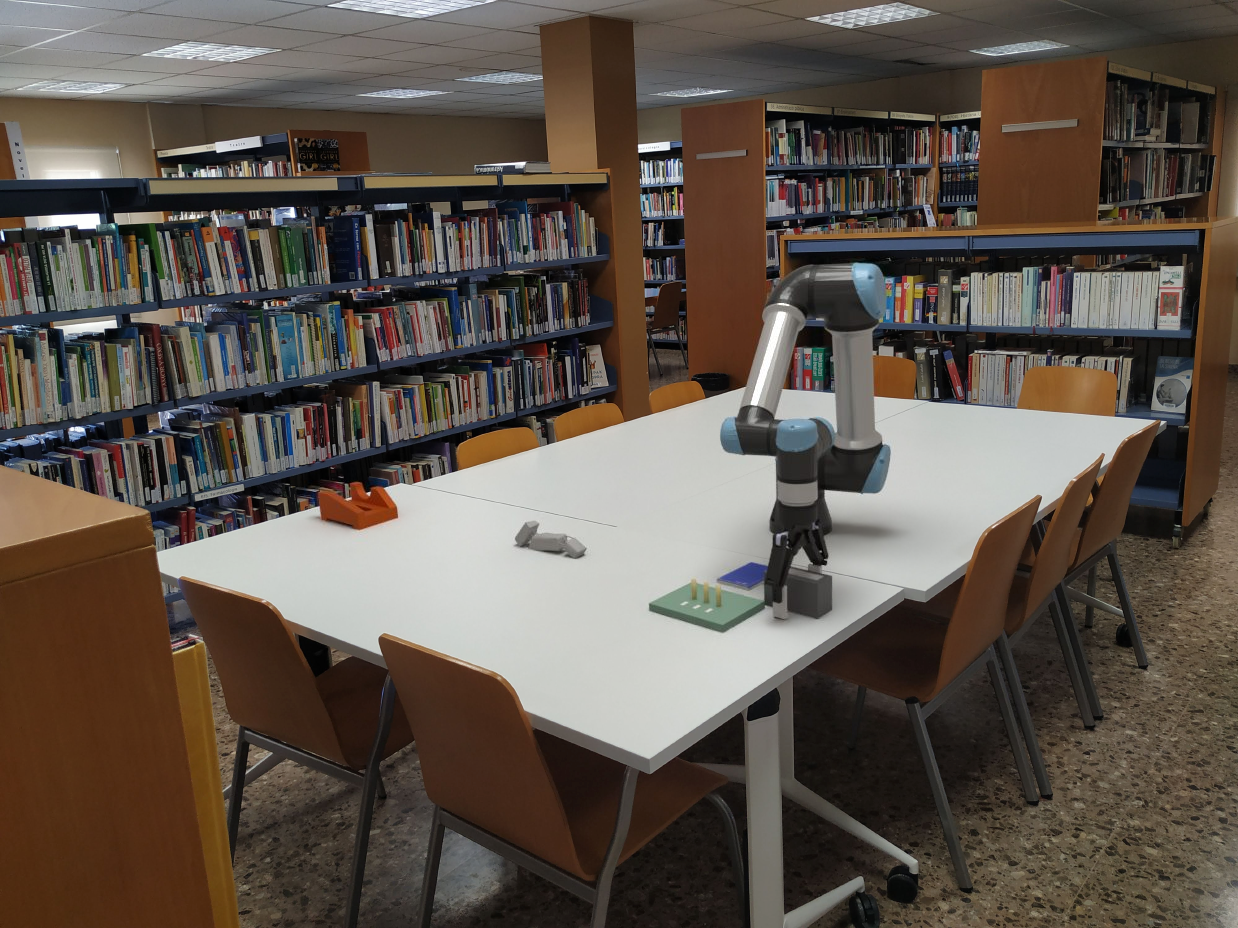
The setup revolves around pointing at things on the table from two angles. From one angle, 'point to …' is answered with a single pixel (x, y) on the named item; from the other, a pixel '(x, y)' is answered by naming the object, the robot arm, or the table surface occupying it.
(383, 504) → the orange cradle stand
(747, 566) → the hard drive
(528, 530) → the grey jointed block chain
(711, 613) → the header board
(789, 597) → the socket block
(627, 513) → the table surface
